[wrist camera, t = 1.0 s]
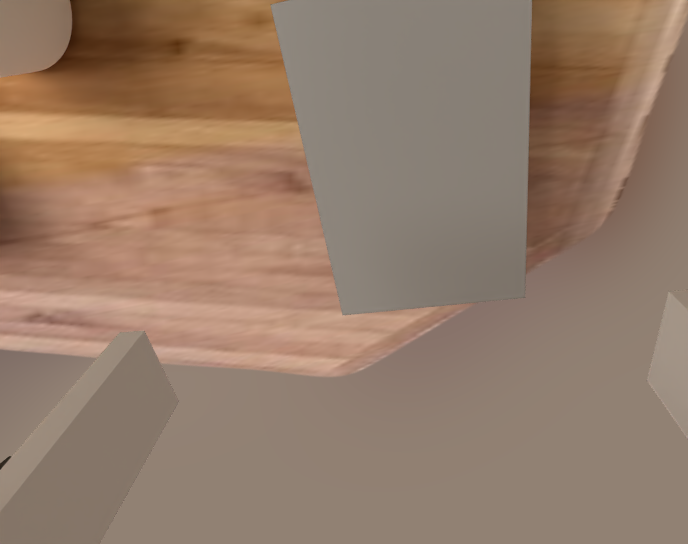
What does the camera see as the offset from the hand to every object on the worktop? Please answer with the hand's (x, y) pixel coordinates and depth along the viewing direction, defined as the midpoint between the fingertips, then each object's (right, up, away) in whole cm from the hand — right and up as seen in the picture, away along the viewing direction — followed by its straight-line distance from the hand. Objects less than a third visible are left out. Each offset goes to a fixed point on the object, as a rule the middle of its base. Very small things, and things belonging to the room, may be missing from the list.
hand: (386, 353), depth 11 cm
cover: (+3, +11, +16) cm, 19 cm away
